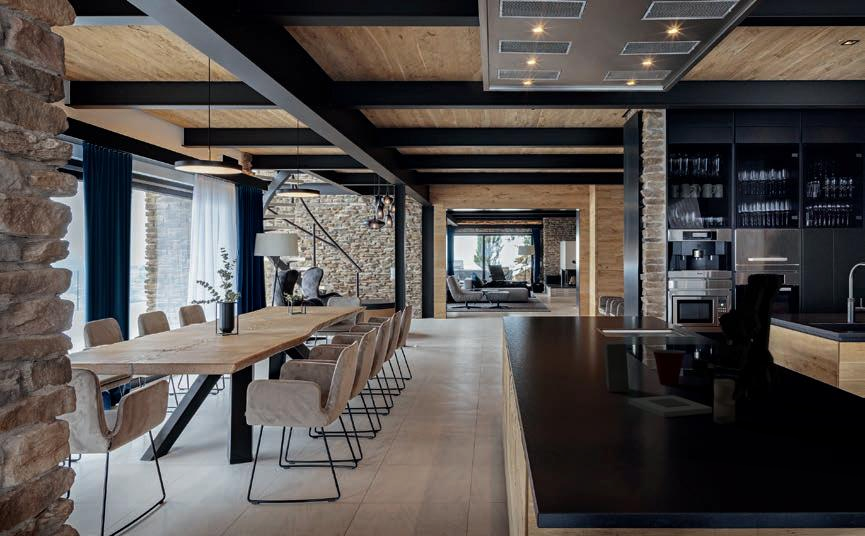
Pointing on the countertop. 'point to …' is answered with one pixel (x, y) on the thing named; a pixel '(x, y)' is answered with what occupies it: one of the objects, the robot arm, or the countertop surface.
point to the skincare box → (616, 367)
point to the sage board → (669, 406)
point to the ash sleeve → (724, 401)
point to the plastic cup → (668, 366)
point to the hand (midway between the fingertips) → (722, 397)
